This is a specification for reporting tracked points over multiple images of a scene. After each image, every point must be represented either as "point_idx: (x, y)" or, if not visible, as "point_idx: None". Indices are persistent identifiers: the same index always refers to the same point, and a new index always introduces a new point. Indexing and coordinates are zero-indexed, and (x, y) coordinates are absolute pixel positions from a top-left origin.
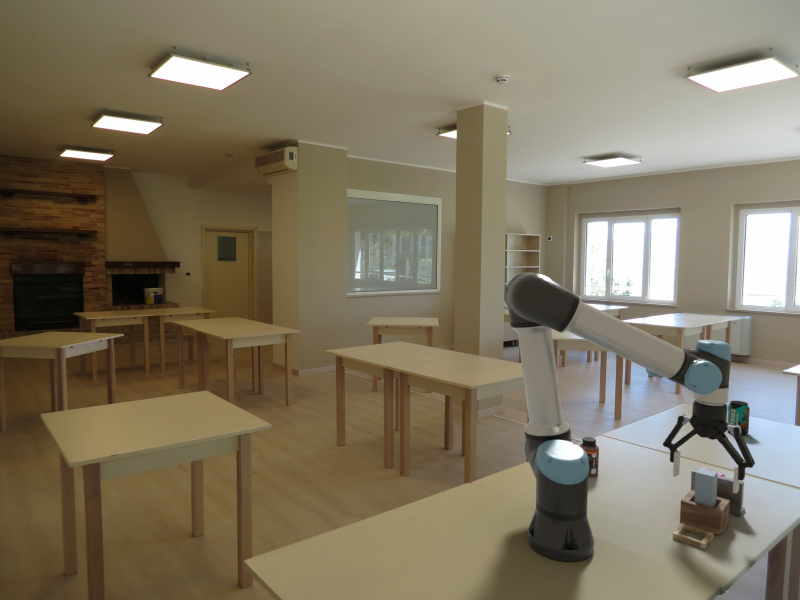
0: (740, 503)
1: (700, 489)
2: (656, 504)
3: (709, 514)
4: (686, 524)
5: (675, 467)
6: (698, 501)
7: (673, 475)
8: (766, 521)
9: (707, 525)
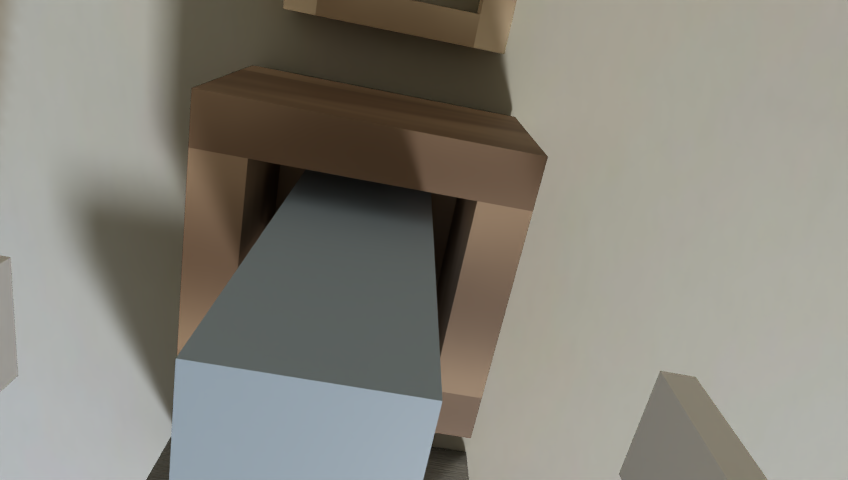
0: (154, 473)
1: (378, 271)
2: (664, 319)
3: (301, 100)
4: (471, 45)
5: (727, 458)
6: (398, 223)
7: (691, 382)
8: (57, 430)
9: (328, 86)
